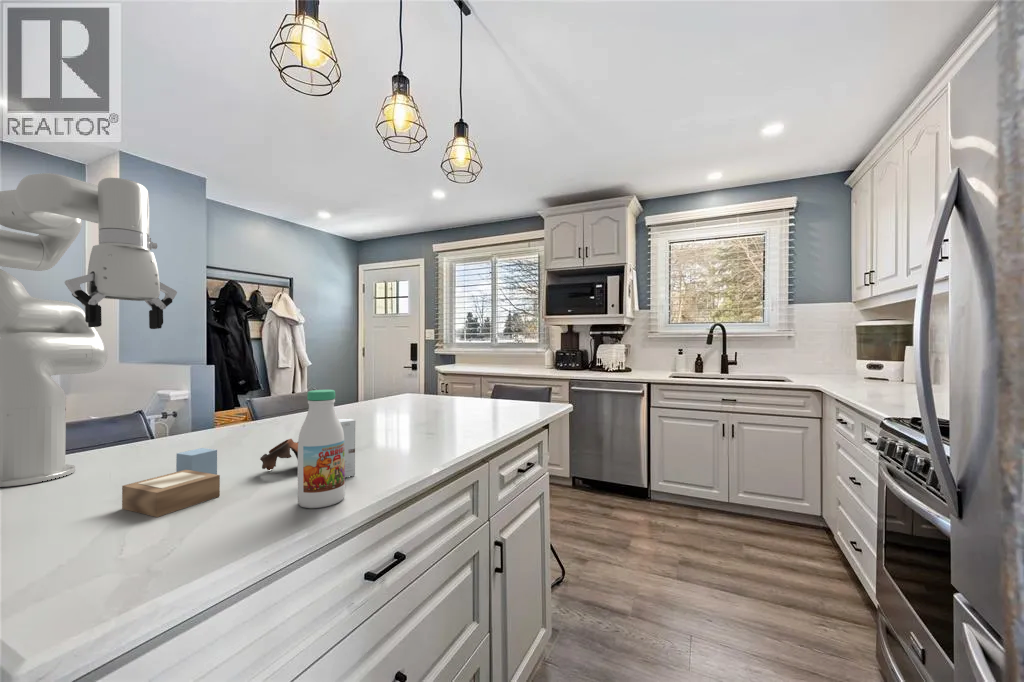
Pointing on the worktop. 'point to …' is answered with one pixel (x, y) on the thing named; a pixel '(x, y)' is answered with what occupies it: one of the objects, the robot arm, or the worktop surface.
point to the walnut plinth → (170, 492)
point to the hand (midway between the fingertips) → (126, 327)
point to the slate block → (197, 460)
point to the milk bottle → (321, 453)
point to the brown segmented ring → (279, 453)
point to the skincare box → (349, 445)
